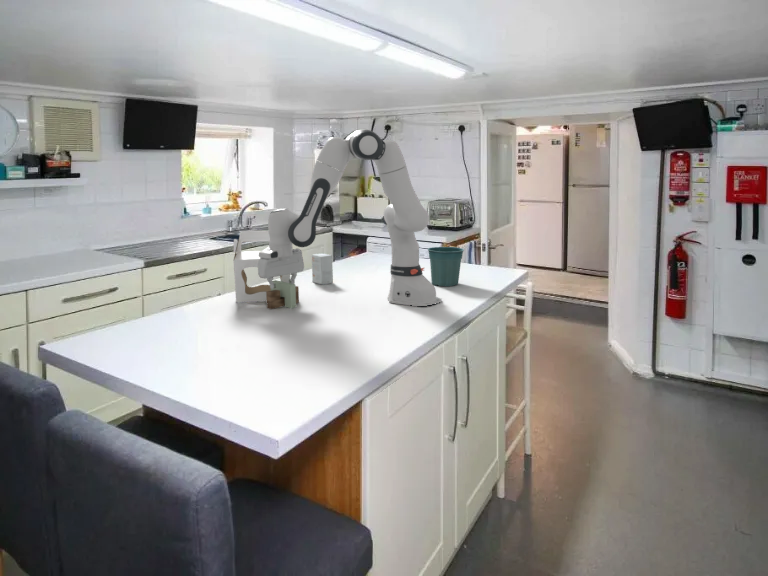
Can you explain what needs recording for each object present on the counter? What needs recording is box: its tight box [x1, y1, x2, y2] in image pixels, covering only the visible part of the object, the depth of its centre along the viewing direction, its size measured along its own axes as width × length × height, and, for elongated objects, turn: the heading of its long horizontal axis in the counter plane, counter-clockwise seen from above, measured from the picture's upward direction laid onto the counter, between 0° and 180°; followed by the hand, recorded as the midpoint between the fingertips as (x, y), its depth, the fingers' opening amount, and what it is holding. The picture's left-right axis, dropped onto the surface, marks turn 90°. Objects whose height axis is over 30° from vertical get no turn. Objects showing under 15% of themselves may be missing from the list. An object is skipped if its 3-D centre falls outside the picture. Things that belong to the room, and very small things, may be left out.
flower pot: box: [427, 246, 465, 287], centre depth 263 cm, size 16×16×16 cm
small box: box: [311, 253, 334, 285], centre depth 267 cm, size 8×6×13 cm
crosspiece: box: [271, 279, 297, 309], centre depth 227 cm, size 12×2×9 cm, turn 49°
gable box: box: [233, 229, 291, 303], centre depth 237 cm, size 22×13×28 cm, turn 101°
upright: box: [266, 285, 300, 310], centre depth 227 cm, size 14×2×6 cm, turn 139°
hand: (282, 286), depth 226 cm, fingers open, 8 cm apart
